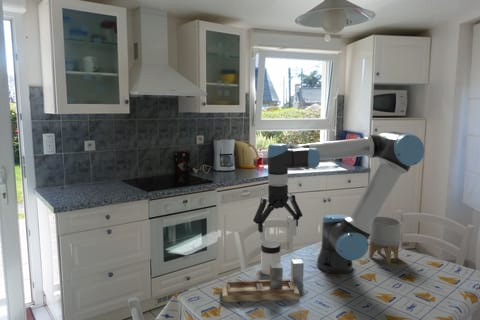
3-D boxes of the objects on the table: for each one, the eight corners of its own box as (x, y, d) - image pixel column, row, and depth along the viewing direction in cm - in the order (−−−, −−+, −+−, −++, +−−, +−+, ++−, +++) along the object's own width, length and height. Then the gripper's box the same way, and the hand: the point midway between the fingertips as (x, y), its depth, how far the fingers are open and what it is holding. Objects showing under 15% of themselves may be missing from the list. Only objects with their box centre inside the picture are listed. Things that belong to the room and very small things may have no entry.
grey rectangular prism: (292, 285, 145) (293, 263, 143) (290, 280, 149) (291, 259, 147) (302, 284, 145) (303, 263, 144) (300, 280, 149) (301, 259, 148)
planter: (403, 263, 165) (405, 225, 163) (374, 263, 165) (376, 225, 163) (391, 252, 178) (394, 216, 175) (365, 251, 178) (366, 216, 176)
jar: (268, 277, 151) (268, 249, 149) (256, 270, 158) (256, 243, 156) (284, 272, 156) (285, 245, 154) (272, 265, 163) (273, 239, 161)
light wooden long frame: (294, 288, 142) (295, 260, 140) (299, 299, 134) (300, 269, 132) (222, 291, 140) (221, 262, 138) (222, 302, 132) (222, 271, 130)
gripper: (301, 179, 148) (301, 229, 152) (244, 185, 140) (245, 238, 143) (311, 182, 142) (311, 235, 145) (251, 189, 133) (253, 245, 136)
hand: (278, 237), depth 144 cm, fingers open, 13 cm apart
